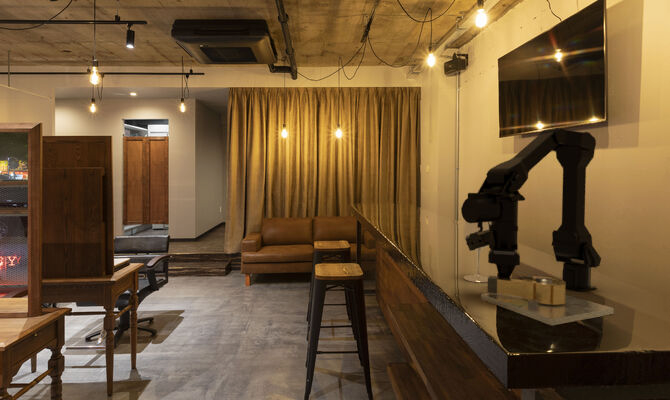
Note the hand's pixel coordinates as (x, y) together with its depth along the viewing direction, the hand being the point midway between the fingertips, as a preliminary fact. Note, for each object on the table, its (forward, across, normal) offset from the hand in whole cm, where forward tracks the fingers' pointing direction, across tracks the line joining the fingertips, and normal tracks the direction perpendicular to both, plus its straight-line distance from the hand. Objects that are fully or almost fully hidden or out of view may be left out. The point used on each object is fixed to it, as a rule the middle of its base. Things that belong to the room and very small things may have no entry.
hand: (503, 286), depth 90 cm
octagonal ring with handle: (+1, +3, +4) cm, 6 cm away
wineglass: (+3, -16, -6) cm, 17 cm away
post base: (+2, +4, +8) cm, 9 cm away
